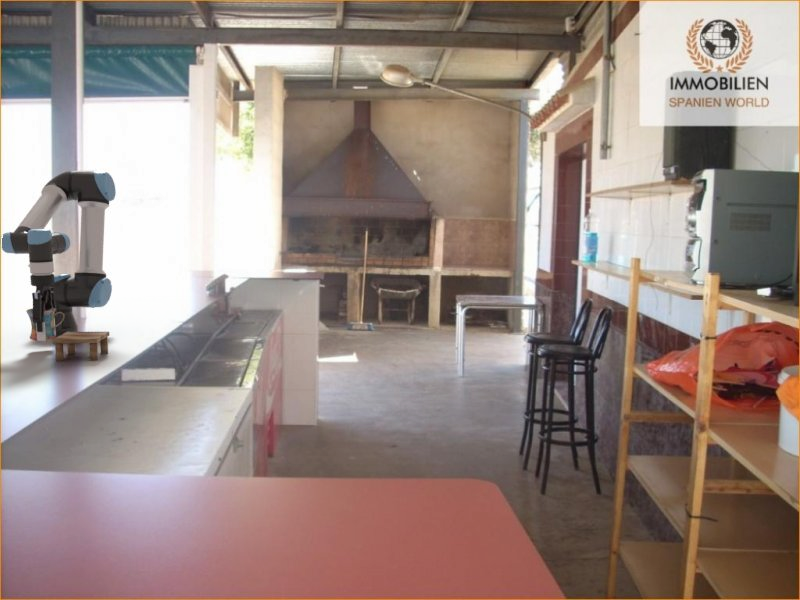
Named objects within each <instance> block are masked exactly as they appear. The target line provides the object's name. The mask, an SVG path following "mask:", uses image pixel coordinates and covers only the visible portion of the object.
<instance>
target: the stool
mask: <svg viewBox="0 0 800 600" xmlns="http://www.w3.org/2000/svg"><path fill="white" fill-rule="evenodd" d="M109 336H110V331H78V332H66V333H64V334H62V335H60V336H56V337H55V338H53V339H51V341H52V344H54V346H55V361H56V362H63V361H65V357H64V355H65V354H64V353H65V352H64V344H67V347H66V348H67V355H75V354H76V344H89V360H90V361H91V362H94V361H99V352H98V351H99V350H100V354H101V355H108V354H109V344H108V343H109V341H108V338H109ZM99 343H100V344H99ZM98 344H99V347H100V349H98Z"/></svg>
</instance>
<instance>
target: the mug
mask: <svg viewBox="0 0 800 600" xmlns="http://www.w3.org/2000/svg"><path fill="white" fill-rule="evenodd" d="M55 310H56V309H55V308H51V309H49V310H45V311H44V321H43V322H45V331H46V341H50V340H52V339H54V338H56V337H57V336H56V334H55V332H54V330H56V329H55V327H57V326H59V325H60V324H61V323H62V322H63V320H64V317H65V316H64V314H63V313H62V312H57V313H55ZM26 313H27V315H28V318H29V320H30V323H31V324H30V325H31V332H30V335H29V339H30V340H31V341H36V342H38V341H37V331H36V323H33V307H32V308H29V309H26ZM54 313H55V314H54ZM58 313H61V314H63V319H62V321H61V322H60V323H59V324H58V325H56V326H55V327H53V319H54V317H55V315H56V314H58ZM53 329H54V330H53Z"/></svg>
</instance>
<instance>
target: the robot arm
mask: <svg viewBox="0 0 800 600" xmlns="http://www.w3.org/2000/svg"><path fill="white" fill-rule="evenodd" d="M41 189H42V190H41V192H40V193H41V195H40V196H39V197H38V199H37V200H36V201H35V203H34V204H33V206H32V207H31V209H30V210H29V211H28V213H27V214H25V217H24V218H23V219H22V221H21V222H20V223H19V224H18V226H17V228H16V229H15V230H14V231H13V232H12V231H9V232H4V233H3V234H2V235H3V238H2V247H1V250H2V251H3V252H5V253H6V254H14V255H23V254H26V255H28V260H29V261H28V262H29V264H28V265H27V266H28V268H29V271H30V285H31V286H33V287H35V292H32V293H31V295H32V308H33V323H36V331H37V341H36V342H46V341H47V340H46V331H45V322H43V321H44V311H45V310H49V309H51V308H55V309H56V310H55V313H57V312H62V313H63V314H64V316H65V317H64V320H63V322H62V323H61V324H60V325H59V326H57V327H55V326H56V325H58V324H59V323H60V322H61V321H62V319H63V314H61V313H58V314H56V315H55V317H54V319H53V327H55V329H56V330H54V329H53V330H54V332H55V334H56V337H58V336H60V335H62V334H64V333H66V332H79V325H78V323H77V321H76V318H75V315H74V313H73V308H91V309H96V308H103V307H105V306H106V305H107V304H108V302H109V301H110V298H111V297H112V291H113V289H112V288H113V285H112V281H111V279H109V278H108V277H107V273H106V272H105V270H104V269H103V265H104V263H103V261H104V239H105V213H106V212H105V211H106V209H107V208H109V207H110V202H112V201H114V200H115V198H116V184H115V182H114V178H113V177H112V175H111V174H110V173H109V172H108V171H103V170H96V169H95V170H67V171H64V172H61V173H59V174H58V175H56V176H54V177H53V178H51V179H50V180H49V181H47V183H46V184H45V185H44V186H43V188H41ZM70 201H77V205H78V206H79V207H80V208H81V210H80V211H81V212H80V213H81V215H80V234H79V235H80V236H79V237H80V239H79V240H80V241H79V258H78V259H79V260H78V261H79V262H78V269H77V270H76V271H74V277H72V275H71V273H61V274H54V273H55V266H54V264H55V263H54V255H57V254H59V255H61V254H63V253H65V252H67V251H68V250H69V249H70V247H71V240H70V237H69V236H68V234H66V233H65V232H60V231H54V232H52V231H51V229H49V228H46V226H47V225H48V224H49V222H50V221H51V220H52V218H53V217H54V215H55V214H56V212H57V211H58V210H59V209H60V207H62V206H64V205H66V203H68V202H70ZM55 313H54V314H55Z"/></svg>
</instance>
